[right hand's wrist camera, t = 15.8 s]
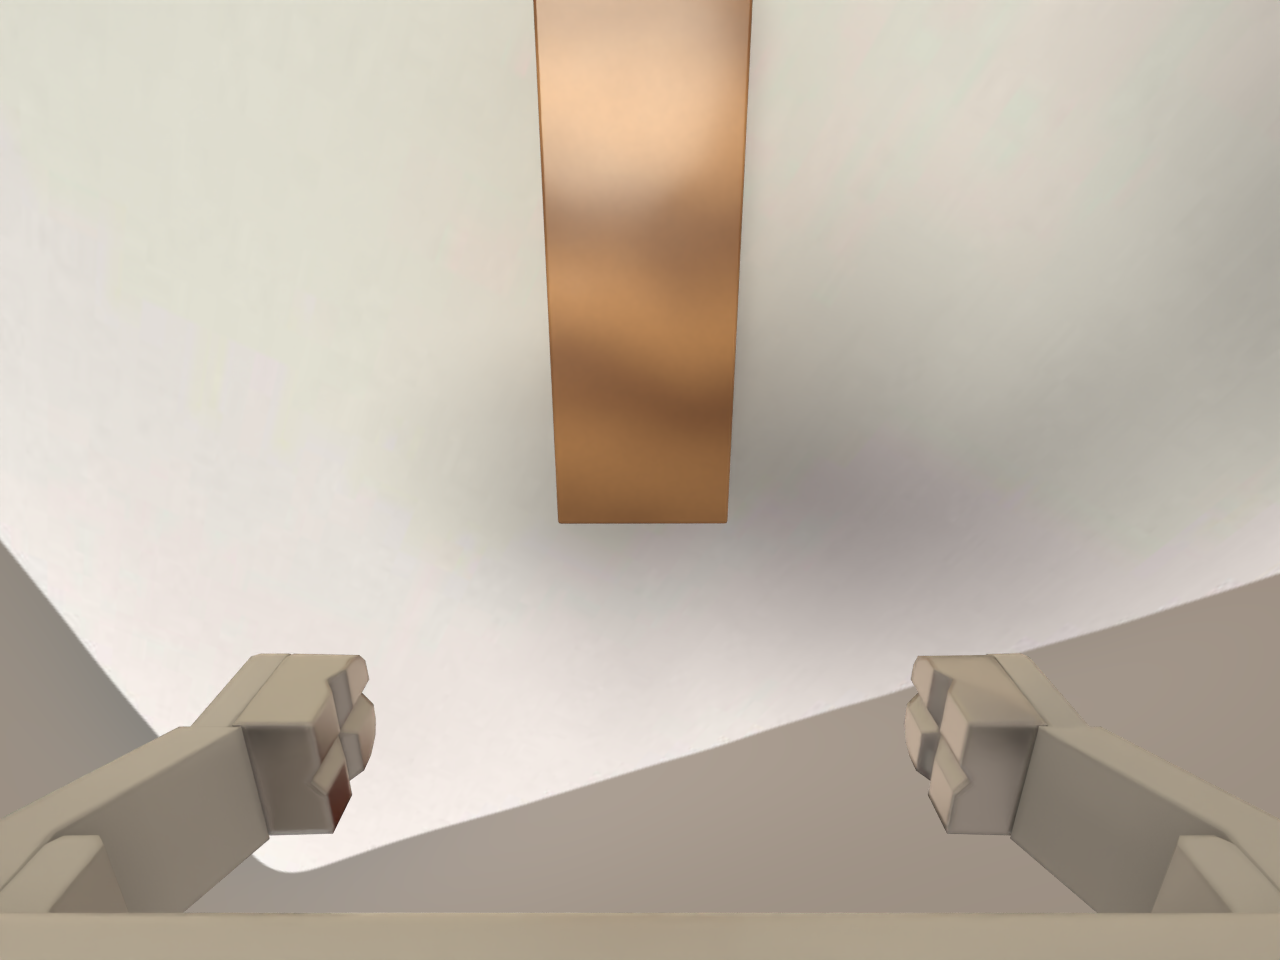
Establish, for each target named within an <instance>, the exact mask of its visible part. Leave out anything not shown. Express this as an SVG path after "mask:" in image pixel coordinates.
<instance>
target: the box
mask: <svg viewBox="0 0 1280 960" xmlns="http://www.w3.org/2000/svg"><path fill="white" fill-rule="evenodd" d="M752 2H753V0H533V4H534V25H535V46H536V67H537V88H538V109H539V130H540V151H541V172H542V193H543V214H544V235H545V256H546V277H547V298H548V319H549V340H550V361H551V382H552V403H553V424H554V445H555V466H556V487H557V508H558V522H559V523H561V524H563V523H726V522H727V518H728V497H729V476H730V456H731V435H732V415H733V394H734V373H735V353H736V332H737V311H738V291H739V270H740V249H741V229H742V208H743V188H744V167H745V146H746V126H747V105H748V84H749V64H750V43H751V23H752Z"/></svg>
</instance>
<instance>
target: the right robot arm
mask: <svg viewBox="0 0 1280 960" xmlns="http://www.w3.org/2000/svg"><path fill="white" fill-rule="evenodd" d="M368 681H369V676H368V671H367V666H366V662H365V660H364V659H363V658H362V657H361V656H360V655H333V654H258V655H255V656H252V657H250V658H249V659H248V661H247V662H246V663H245V664H244V665H243V666H242V668H241V669H240V670H239V671H238V672H237V673H236V675H235V676H234V677H233V678H232V679H231V680H230V681H229V683H228V684H227V685H226V686H225V687H224V688H223V690H222V691H221V692H220V693H219V694H218V695H217V696H216V698H215V699H214V700H213V701H212V702H211V703H210V705H209V706H208V707H207V708H206V709H205V710H204V712H203V713H202V714H201V715H200V716H199V717H198V718H197V720H196V721H195V722H194V723H193V724H192V725H191V727H178V728H176V729H174V730H172V731H170V732H168V733H166V734H164V735H162V736H160V737H158V738H156V739H154V740H152V741H150V742H149V743H147V744H145V745H143V746H141V747H139V748H137V749H135V750H133V751H131V752H129V753H127V754H125V755H123V756H121V757H119V758H117V759H116V760H114V761H112V762H110V763H108V764H106V765H104V766H102V767H100V768H98V769H96V770H94V771H92V772H90V773H88V774H86V775H84V776H82V777H80V778H79V779H77V780H75V781H73V782H71V783H69V784H67V785H65V786H63V787H61V788H59V789H57V790H55V791H53V792H51V793H49V794H47V795H46V796H44V797H42V798H40V799H38V800H36V801H34V802H32V803H30V804H28V805H26V806H24V807H22V808H20V809H18V810H16V811H14V812H12V813H11V814H9V815H7V816H5V817H3V818H1V819H0V960H1280V819H1279V818H1277V817H1275V816H1273V815H1271V814H1269V813H1267V812H1265V811H1263V810H1261V809H1259V808H1257V807H1255V806H1253V805H1252V804H1250V803H1248V802H1246V801H1244V800H1242V799H1240V798H1238V797H1236V796H1234V795H1232V794H1230V793H1228V792H1226V791H1224V790H1222V789H1221V788H1219V787H1217V786H1215V785H1213V784H1211V783H1209V782H1207V781H1205V780H1203V779H1201V778H1199V777H1197V776H1195V775H1193V774H1191V773H1189V772H1188V771H1186V770H1184V769H1182V768H1180V767H1178V766H1176V765H1174V764H1172V763H1170V762H1168V761H1166V760H1164V759H1162V758H1160V757H1159V756H1157V755H1155V754H1153V753H1151V752H1149V751H1147V750H1145V749H1143V748H1141V747H1139V746H1137V745H1135V744H1133V743H1131V742H1129V741H1128V740H1126V739H1124V738H1122V737H1120V736H1118V735H1116V734H1114V733H1112V732H1110V731H1108V730H1106V729H1104V728H1102V727H1089V725H1088V724H1087V723H1086V722H1085V721H1084V720H1083V718H1082V717H1081V716H1080V715H1079V714H1078V713H1077V712H1076V710H1075V709H1074V708H1073V707H1072V706H1071V705H1070V703H1069V702H1068V701H1067V700H1066V699H1065V698H1064V697H1063V695H1062V694H1061V693H1060V692H1059V691H1058V690H1057V688H1056V687H1055V686H1054V685H1053V684H1052V683H1051V681H1050V680H1049V679H1048V678H1047V677H1046V676H1045V675H1044V673H1043V672H1042V671H1041V670H1040V669H1039V668H1038V667H1037V665H1036V664H1035V663H1034V662H1033V661H1032V660H1031V658H1030V657H1028V656H1026V655H1024V654H1022V653H1008V654H987V655H950V656H918V657H917V659H916V661H915V663H914V665H913V670H912V675H911V681H912V682H913V684H914V686H915V688H916V690H917V691H918V693H917V694H916V695H915V696H914V697H913V698H912V699H911V700H910V701H909V702H908V703H907V705H906V713H905V720H904V728H905V740H906V745H907V749H908V752H909V756H910V758H911V761H912V763H913V765H914V767H915V769H916V771H918V772H919V773H920V774H922V775H923V776H925V777H926V778H927V779H929V780H930V786H929V792H928V796H929V798H930V800H931V802H932V804H933V806H934V808H935V810H936V812H937V814H938V816H939V818H940V820H941V822H942V824H943V826H944V828H945V830H946V832H947V833H948V834H980V835H1011V837H1010V838H1011V839H1012V840H1013V841H1014V842H1015V843H1016V844H1017V845H1019V846H1020V847H1021V848H1022V849H1023V850H1024V851H1026V852H1027V853H1028V854H1029V855H1030V856H1031V857H1033V858H1034V859H1035V860H1036V861H1037V862H1039V863H1040V864H1041V865H1042V866H1043V867H1044V868H1046V869H1047V870H1048V871H1049V872H1050V873H1051V874H1052V875H1054V876H1055V877H1056V878H1057V879H1058V880H1059V881H1061V882H1062V883H1063V884H1064V885H1065V886H1067V887H1068V888H1069V889H1070V890H1071V891H1072V892H1074V893H1075V894H1076V895H1077V896H1078V897H1079V898H1081V899H1082V900H1083V901H1084V902H1085V903H1086V904H1088V905H1089V906H1090V907H1091V908H1092V909H1093V910H1095V911H1096V912H1097V913H183V912H184V911H186V910H187V909H188V908H189V907H190V906H191V905H193V904H194V903H195V902H196V901H197V900H199V899H200V898H201V897H202V896H203V895H204V894H206V893H207V892H208V891H209V890H210V889H211V888H213V887H214V886H215V885H216V884H217V883H218V882H220V881H221V880H222V879H223V878H224V877H225V876H227V875H228V874H229V873H230V872H231V871H232V870H234V869H235V868H236V867H237V866H238V865H239V864H241V863H242V862H243V861H244V860H245V859H247V858H248V857H249V856H250V855H251V854H252V853H254V852H255V851H256V850H257V849H258V848H259V847H261V846H262V845H263V844H264V843H265V842H266V841H268V840H269V835H300V834H333V833H334V830H335V828H336V826H337V824H338V822H339V820H340V818H341V816H342V814H343V812H344V810H345V808H346V806H347V804H348V802H349V800H350V798H351V796H352V792H351V786H350V780H351V779H353V778H354V777H355V776H357V775H358V774H360V773H361V772H362V771H364V769H365V767H366V765H367V763H368V760H369V758H370V756H371V753H372V748H373V744H374V739H375V730H376V718H375V711H374V705H373V703H372V702H371V701H370V700H369V699H368V698H367V697H366V696H365V695H364V694H363V693H362V691H363V690H364V688H365V686H366V684H367V682H368Z"/></svg>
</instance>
